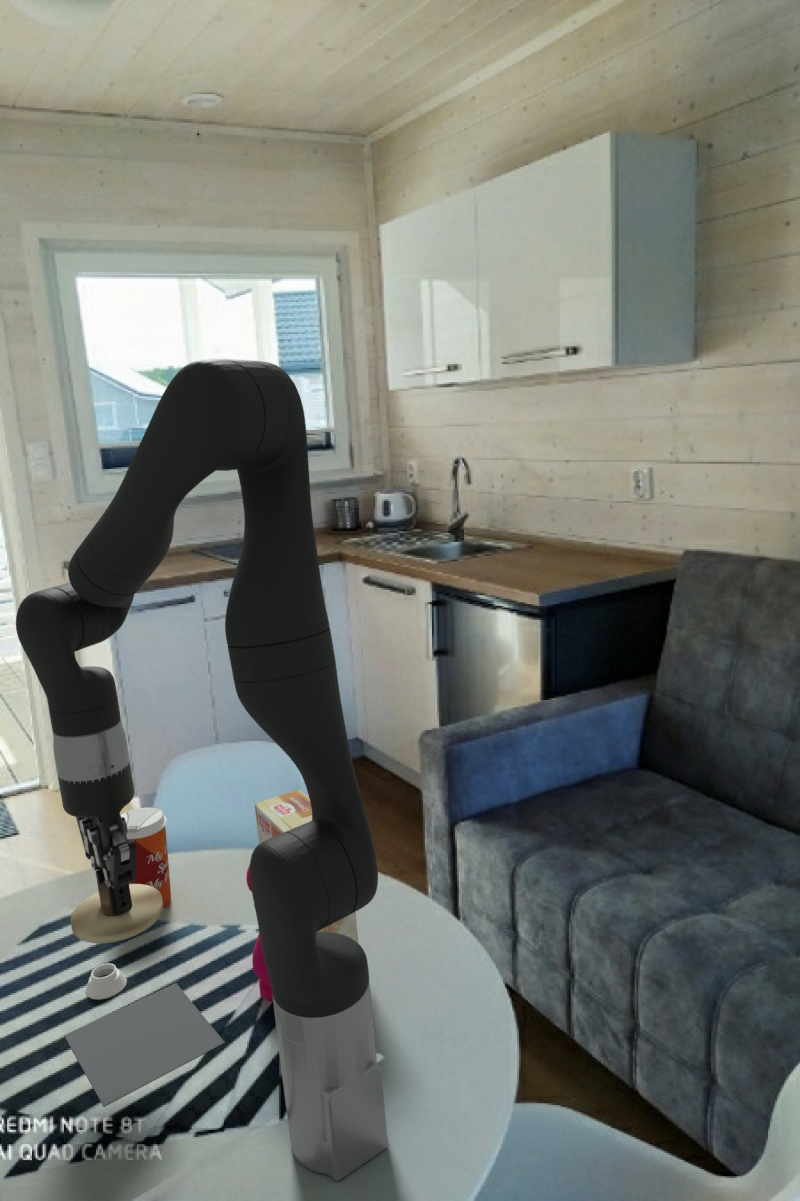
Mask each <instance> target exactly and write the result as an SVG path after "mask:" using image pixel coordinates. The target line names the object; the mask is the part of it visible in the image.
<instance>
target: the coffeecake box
mask: <svg viewBox="0 0 800 1201" xmlns="http://www.w3.org/2000/svg"><path fill="white" fill-rule="evenodd" d="M254 809H255V811H254V812H255V818H256V827H257V835H258V836H257V837H258V845H259V844H260V843H262V842H263V841H266V840H268V839H270V838H272V837H274V836H277V835H279V834H281V833H284V832H286V831H289V830H291V829H293V828H296V827H298V826H301V825H303V824H305V823H308V822H310V821H312V808H311V803H310V799H309V795H307V794H305V792H303V791H302V790H301V789H299V790H295V791H291V792H288V793H284V794H281V795H278V796H275V797H271V798H267V799H265V800H261V801H257V802H255V803H254ZM356 912H357V911H356ZM356 912H354V913H352V914H350V915H348V916H347V917H345V918H343V919H341V920H339V921H337V922H335V923H333V924H331V925H329V926H327V927H325V928H323V929H321V930H319V931H317V932H332V933H337V934H342V935H345V936H347V937H349V938H351V939H353V940H354V941H356V942H357V943H358V944H359V936H358V925H357V915H356V914H357V913H356Z"/></svg>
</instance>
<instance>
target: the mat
mask: <svg viewBox="0 0 800 1201" xmlns="http://www.w3.org/2000/svg"><path fill="white" fill-rule="evenodd" d="M63 1036H64V1038H65V1040H66V1042H67V1044H68V1045H69V1048H70V1049H71V1051H72V1053H73V1054H74V1056H75V1058H76V1060H77V1062H78V1063H79V1065H80V1067H81V1069H82V1071H83V1072H84V1075H85V1076H86V1078H87V1079H88V1081H89V1083H90V1084H91V1086H92V1088H93V1090H94V1092H95V1093H96V1096H97V1097H98V1099H99V1100H100V1103H101V1104H102V1106H103V1107H107V1106H108V1105H110V1104H111V1103H113V1102H115V1101H117V1100H119V1099H122V1098H123V1097H125V1096H126V1095H129V1094H130V1093H133V1092H134V1091H136V1090H138V1089H140V1088H142V1087H144V1086H146V1085H148V1084H149V1083H151V1082H153V1081H155V1080H157V1079H159V1078H161V1077H163V1076H164V1075H166V1074H168V1073H170V1072H172V1071H174V1070H176V1069H178V1068H180V1067H181V1066H183V1065H185V1064H187V1063H190V1062H191V1061H193V1060H195V1059H196V1058H199V1057H201V1056H202V1055H205V1054H206V1053H208V1052H211V1051H212V1050H214V1049H216V1048H218V1047H220V1046H221V1045H223V1044H225V1043H226V1042H225V1041H224V1040H223V1038H222V1037H221V1036H220V1034H219V1033H218V1032H217V1031H216V1030H215V1028H214V1027H213V1026H212V1025H211V1024H210V1023H209V1021H208V1020H207V1019H206V1018H205V1016H204V1015H203V1014H202V1013H201V1011H200V1010H199V1008H197V1007H196V1005H195V1004H194V1003H193V1002H192V1000H191V999H190V998H189V997H188V996H187V994H186V993H185V992H184V991H183V990H182V988H181V987H180V986H179V985H178V983H177V982H175V983H172V984H171V985H169V986H167V987H164V988H162V989H160V990H158V991H156V992H154V993H151V994H149V995H147V996H145V997H143V998H141V999H138V1000H137V1001H135V1002H132V1003H130V1004H128V1005H126V1006H124V1007H121V1008H120V1009H118V1010H115V1011H112V1013H109V1014H106V1015H104V1016H101V1017H100V1018H98V1019H96V1020H94V1021H92V1022H90V1023H88V1024H85V1025H83V1026H82V1027H79V1028H77V1029H75V1030H72V1031H70V1032H68V1033H66V1034H64V1035H63Z"/></svg>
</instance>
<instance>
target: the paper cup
mask: <svg viewBox="0 0 800 1201" xmlns="http://www.w3.org/2000/svg"><path fill="white" fill-rule="evenodd" d="M120 815H121V817H124V818H125V820H126V824H127V829H128V832H127V834H126V835H127V840H128V841H130V840H134V842H135V843H136V880H135V881H132V882H130V883H129V884H144V885H148V886H151V887H154V888H156V889H157V890H158V891H159V892H160V893H161V895H162V900H163V910H164V909H166V908H167V907H168V906H169V905H170V904H171V901H172V891H171V889H172V888H171V878H170V876H171V875H170V864H169V855H168V854H169V852H168V844H167V843H168V842H167V840H168V839H167V829H166V825H167V824H168V819H167V817H166V816H165V815H164V813H163V811H162V810H160V809H159V808H155V807H138V808H134V809H132V810H128V811H126V812H123V813H122V814H120Z"/></svg>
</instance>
